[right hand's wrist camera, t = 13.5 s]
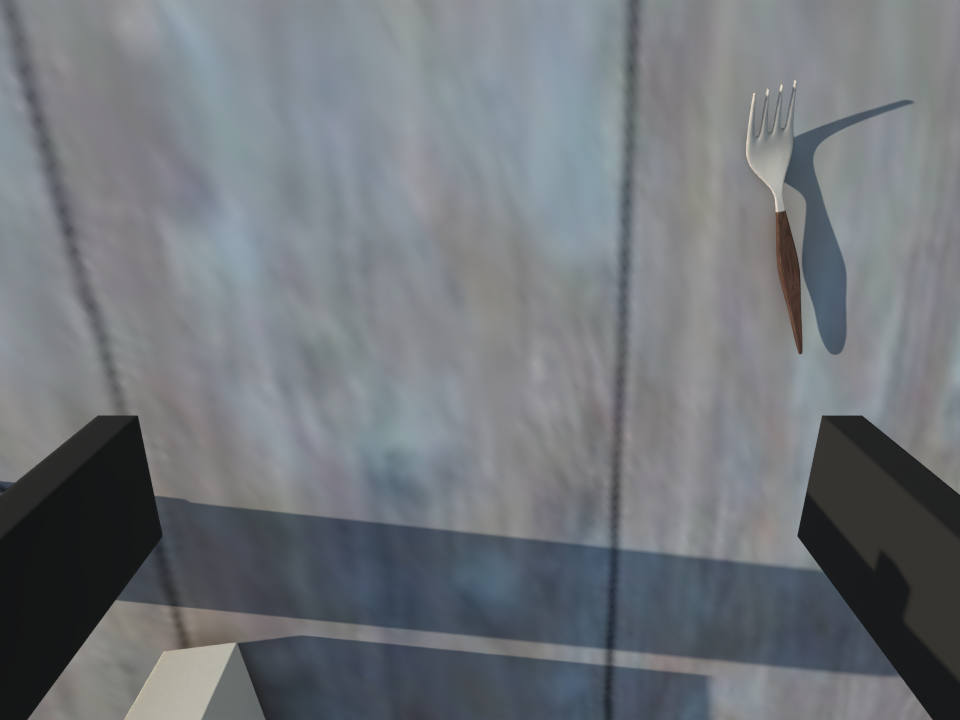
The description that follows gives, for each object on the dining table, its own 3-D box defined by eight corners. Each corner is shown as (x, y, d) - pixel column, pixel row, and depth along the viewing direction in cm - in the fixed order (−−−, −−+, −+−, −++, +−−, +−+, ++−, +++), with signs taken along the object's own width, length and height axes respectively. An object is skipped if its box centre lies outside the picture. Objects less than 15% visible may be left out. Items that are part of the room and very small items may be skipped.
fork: (775, 356, 42) (789, 368, 40) (736, 94, 36) (750, 94, 34) (817, 345, 41) (833, 356, 39) (784, 80, 36) (801, 78, 34)
